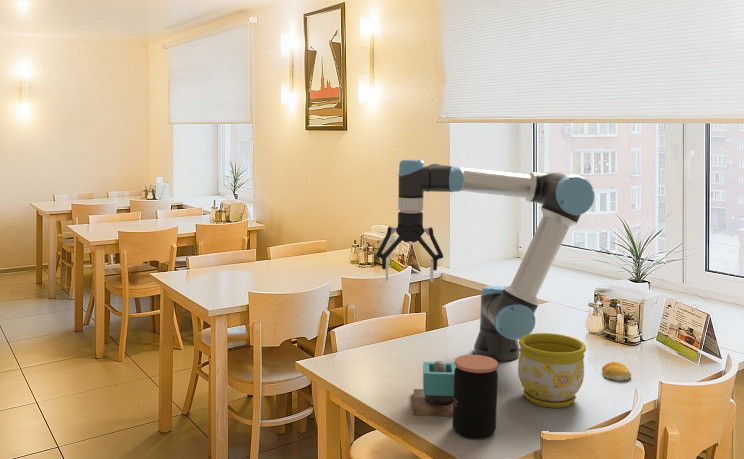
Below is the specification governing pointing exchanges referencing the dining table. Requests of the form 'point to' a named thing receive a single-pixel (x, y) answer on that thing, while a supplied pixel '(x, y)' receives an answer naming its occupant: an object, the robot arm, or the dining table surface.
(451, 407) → the post stand
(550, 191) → the robot arm
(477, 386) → the coffee jar
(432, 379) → the collar
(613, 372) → the bread roll
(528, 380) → the flowerpot
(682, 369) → the dining table surface
